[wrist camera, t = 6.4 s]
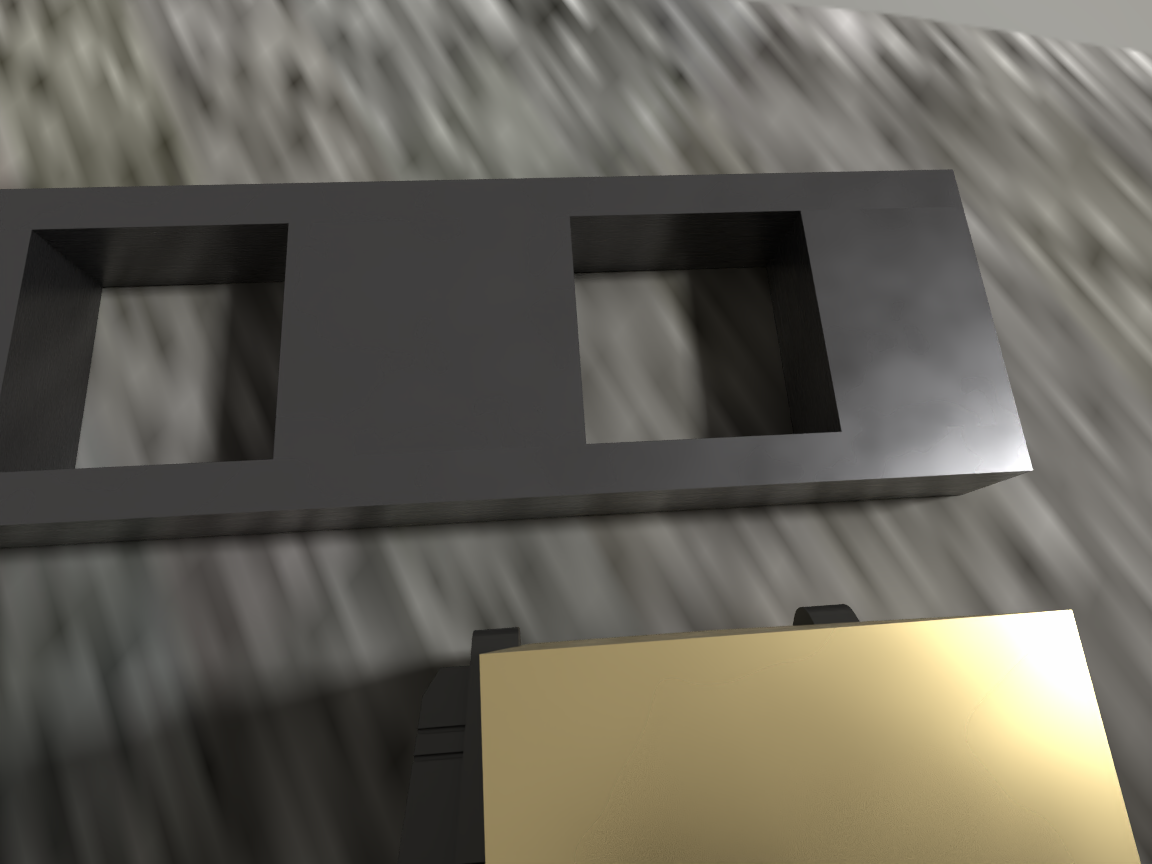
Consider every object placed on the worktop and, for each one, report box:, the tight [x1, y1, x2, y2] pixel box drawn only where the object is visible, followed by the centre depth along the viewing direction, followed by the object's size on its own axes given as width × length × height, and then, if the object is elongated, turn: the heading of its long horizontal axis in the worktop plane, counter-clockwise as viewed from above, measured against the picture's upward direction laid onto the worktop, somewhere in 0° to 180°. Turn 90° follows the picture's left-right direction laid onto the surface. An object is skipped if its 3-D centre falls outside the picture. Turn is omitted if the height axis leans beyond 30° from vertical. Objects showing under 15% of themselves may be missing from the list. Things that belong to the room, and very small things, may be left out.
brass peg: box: [479, 610, 1141, 864], centre depth 10 cm, size 4×4×12 cm
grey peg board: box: [0, 170, 1033, 548], centre depth 19 cm, size 30×9×3 cm, turn 94°
